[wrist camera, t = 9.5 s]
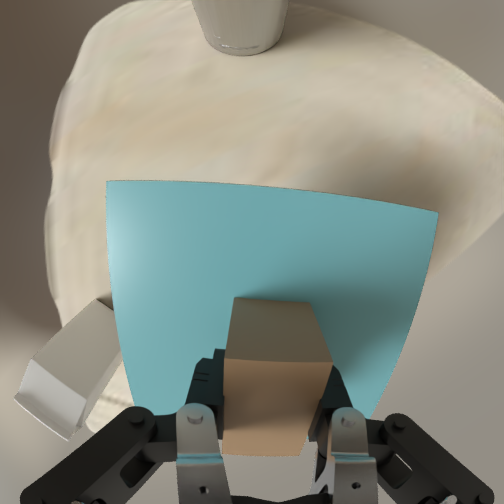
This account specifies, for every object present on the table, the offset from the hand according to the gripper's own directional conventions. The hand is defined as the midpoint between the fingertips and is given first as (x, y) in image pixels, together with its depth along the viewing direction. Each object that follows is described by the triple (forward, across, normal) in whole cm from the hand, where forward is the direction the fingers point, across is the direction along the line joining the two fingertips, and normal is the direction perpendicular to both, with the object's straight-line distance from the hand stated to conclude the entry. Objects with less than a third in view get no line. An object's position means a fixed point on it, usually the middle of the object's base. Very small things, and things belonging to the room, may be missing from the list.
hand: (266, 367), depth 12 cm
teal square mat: (+2, 0, 0) cm, 2 cm away
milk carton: (+20, +20, +13) cm, 31 cm away
